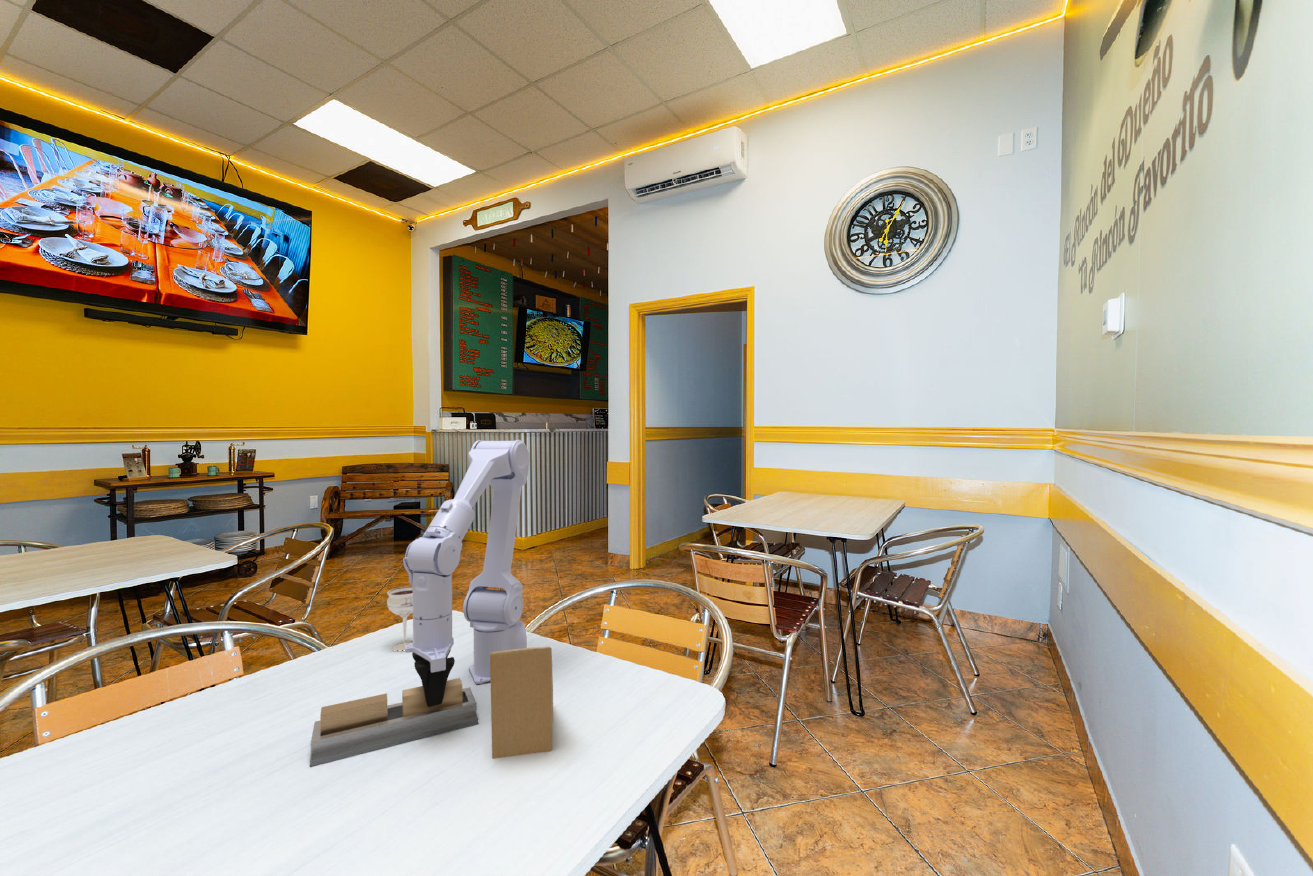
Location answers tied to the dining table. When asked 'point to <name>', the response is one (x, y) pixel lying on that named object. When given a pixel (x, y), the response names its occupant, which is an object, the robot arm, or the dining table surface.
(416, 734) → the track
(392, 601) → the wineglass
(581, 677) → the dining table surface
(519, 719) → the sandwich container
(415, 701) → the tan rectangular block
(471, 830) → the dining table surface
